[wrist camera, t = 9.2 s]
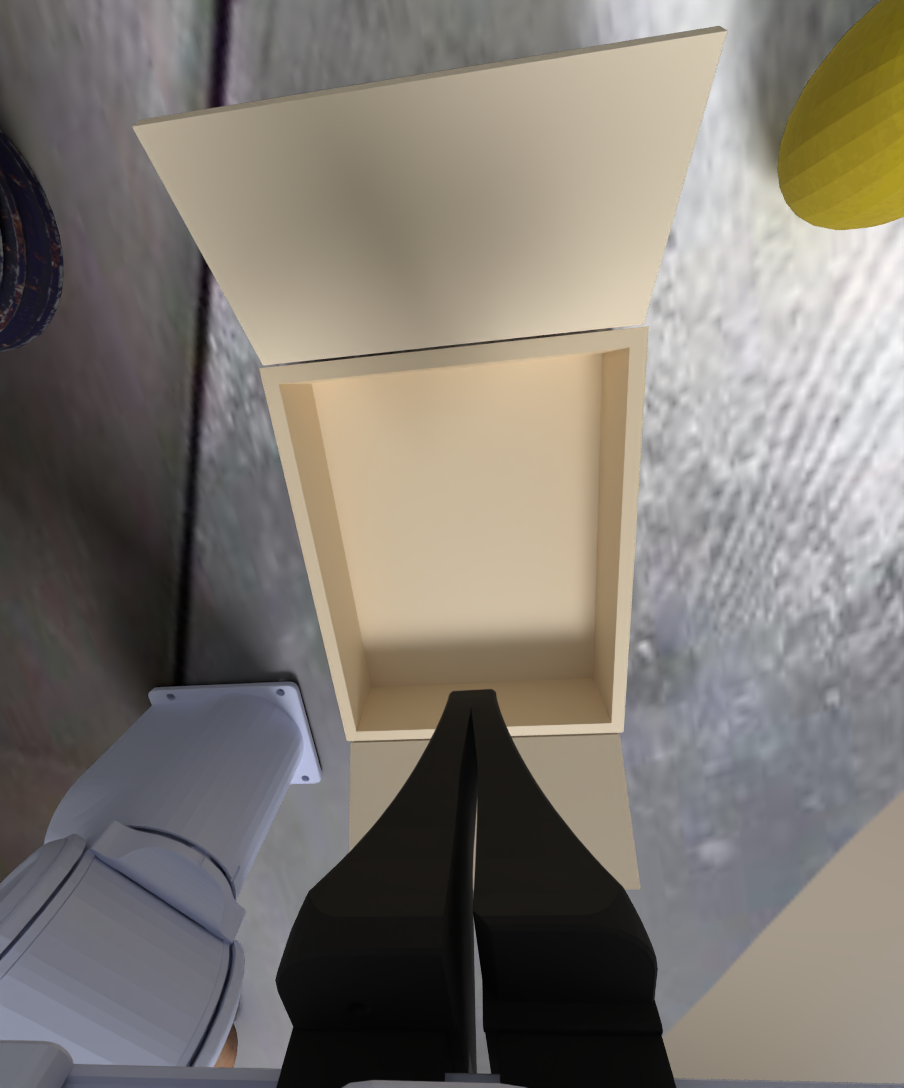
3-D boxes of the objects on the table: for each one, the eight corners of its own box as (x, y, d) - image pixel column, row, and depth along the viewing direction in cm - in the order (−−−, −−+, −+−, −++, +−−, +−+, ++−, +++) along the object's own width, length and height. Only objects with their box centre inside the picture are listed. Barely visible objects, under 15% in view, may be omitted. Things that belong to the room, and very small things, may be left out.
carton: (365, 689, 26) (347, 741, 22) (300, 370, 19) (259, 368, 16) (601, 679, 25) (623, 732, 21) (613, 337, 18) (648, 326, 15)
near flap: (131, 126, 10) (140, 120, 10) (263, 365, 16) (266, 357, 16) (727, 30, 9) (719, 25, 9) (643, 324, 15) (639, 316, 15)
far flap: (350, 743, 22) (353, 741, 23) (348, 889, 20) (351, 884, 21) (619, 734, 21) (616, 732, 21) (640, 889, 19) (637, 883, 20)
